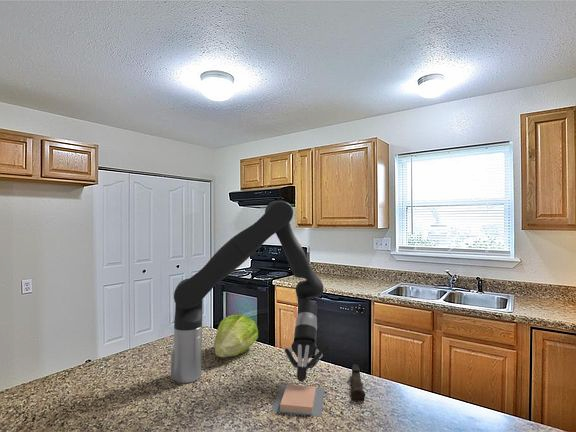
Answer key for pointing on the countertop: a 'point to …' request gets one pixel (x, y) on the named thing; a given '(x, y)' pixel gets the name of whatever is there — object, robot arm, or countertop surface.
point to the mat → (316, 412)
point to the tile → (298, 399)
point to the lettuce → (235, 335)
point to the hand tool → (357, 385)
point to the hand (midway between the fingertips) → (301, 380)
